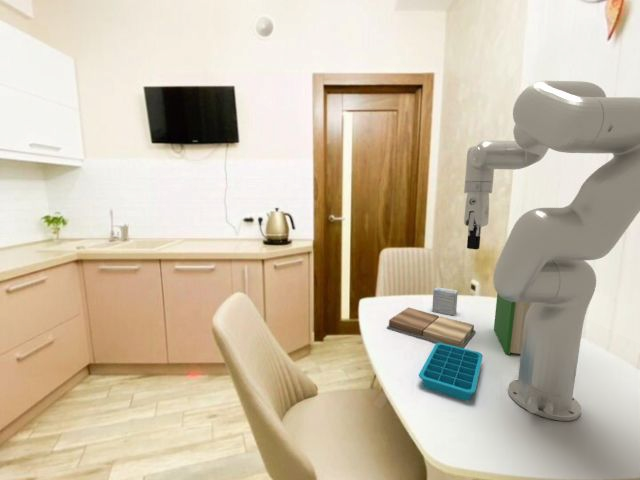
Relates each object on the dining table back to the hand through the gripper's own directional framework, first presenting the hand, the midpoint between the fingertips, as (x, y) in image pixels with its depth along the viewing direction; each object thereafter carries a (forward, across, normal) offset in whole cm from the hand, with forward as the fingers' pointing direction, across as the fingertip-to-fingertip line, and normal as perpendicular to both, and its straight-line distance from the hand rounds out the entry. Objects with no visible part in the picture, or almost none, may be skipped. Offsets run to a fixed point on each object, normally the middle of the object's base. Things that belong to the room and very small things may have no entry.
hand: (473, 248), depth 97 cm
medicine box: (+27, +13, +11) cm, 32 cm away
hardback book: (+27, +1, -13) cm, 30 cm away
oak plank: (+27, -6, +3) cm, 28 cm away
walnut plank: (+26, -6, +15) cm, 31 cm away
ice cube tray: (+28, -28, -4) cm, 40 cm away
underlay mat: (+27, -6, +9) cm, 29 cm away
